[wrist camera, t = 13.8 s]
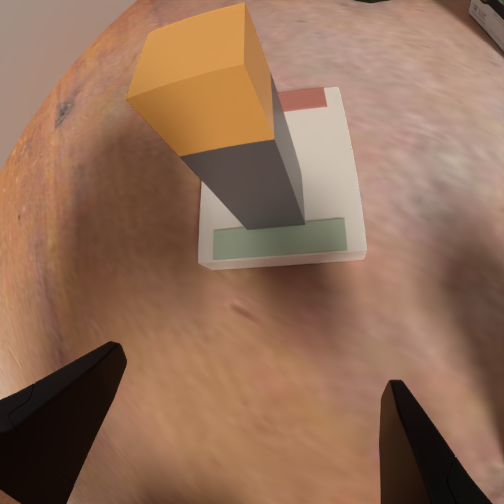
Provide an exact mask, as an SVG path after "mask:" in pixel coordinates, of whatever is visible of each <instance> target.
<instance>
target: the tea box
mask: <svg viewBox="0 0 504 504" xmlns="http://www.w3.org/2000/svg"><path fill="white" fill-rule="evenodd" d="M469 14H470V15H471V16H472V17H473V18H474V19H475V20H476V21H477V22H478V23H479V24H480V26H481V27H482V28H483V29H484V30H485V31H486V32H487V33H488V34H489V35H490V37H491V38H492V39H493V40H494V41H495V42H496V43H497V45H498V46H499V47H500V48H501V50H502V51H503V52H504V0H471V3H470V7H469Z"/></svg>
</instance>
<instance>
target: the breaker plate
mask: <svg viewBox="0 0 504 504" xmlns="http://www.w3.org/2000/svg"><path fill="white" fill-rule="evenodd" d="M278 96H279V99H280V102H281V105H282V109H283V112H284V115H285V118H286V121H287V125H288V128H289V131H290V135H291V138H292V141H293V145H294V148H295V152H296V155H297V159H298V162H299V166H300V169H301V174H302V186H303V199H304V213H305V225H297V226H286V227H275V228H265V229H254V230H247V229H246V228H245V227H244V226H243V225H242V224H241V223H240V222H239V220H238V219H237V218H236V217H235V216H234V215H233V214H232V213H231V212H230V211H229V210H228V208H227V207H226V206H225V205H224V204H223V203H222V202H221V201H220V200H219V199H218V198H217V197H216V195H215V194H214V193H213V192H212V191H211V190H210V189H209V188H208V187H207V186H206V185H205V184H204V182H203V181H202V187H201V203H200V222H199V244H198V264H200V265H202V266H204V267H206V268H208V269H210V270H225V269H240V268H256V267H271V266H285V265H300V264H314V263H327V262H340V261H353V260H364V258H365V255H366V252H367V246H366V236H365V228H364V220H363V212H362V205H361V198H360V191H359V185H358V179H357V173H356V167H355V161H354V156H353V150H352V145H351V140H350V135H349V130H348V126H347V121H346V116H345V112H344V108H343V103H342V99H341V95H340V91H339V87H332V88H323V87H322V88H313V89H304V90H297V91H289V92H283V93H278Z"/></svg>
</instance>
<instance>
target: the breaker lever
mask: <svg viewBox="0 0 504 504" xmlns="http://www.w3.org/2000/svg"><path fill="white" fill-rule="evenodd" d="M126 100H127V101H128V102H129V103H130V105H131V106H132V107H133V108H134V109H135V110H136V111H137V112H138V113H139V114H140V115H141V116H142V117H143V118H144V119H145V120H146V121H147V123H148V124H149V125H150V126H151V127H152V128H153V129H154V130H155V131H156V132H157V133H158V134H159V135H160V136H161V137H162V139H163V140H164V141H165V142H166V143H167V144H168V145H169V146H170V147H171V148H172V149H173V150H174V151H175V152H176V153H177V155H178V156H179V157H180V158H181V159H182V160H183V161H184V162H185V163H186V164H187V165H188V166H189V167H190V168H191V170H192V171H193V172H194V173H195V174H196V175H197V176H198V177H199V178H200V179H201V180H202V181H203V182H204V184H205V185H206V186H207V187H208V188H209V189H210V190H211V191H212V192H213V193H214V194H215V195H216V197H217V198H218V199H219V200H220V201H221V202H222V203H223V204H224V205H225V206H226V207H227V208H228V210H229V211H230V212H231V213H232V214H233V215H234V216H235V217H236V218H237V219H238V220H239V222H240V223H241V224H242V225H243V226H244V227H245V228H246V229H247V230H254V229H265V228H275V227H286V226H297V225H305V213H304V199H303V186H302V174H301V169H300V166H299V162H298V159H297V155H296V152H295V148H294V145H293V141H292V138H291V135H290V131H289V128H288V125H287V121H286V118H285V115H284V112H283V109H282V105H281V102H280V99H279V96H278V93H277V90H276V87H275V84H274V81H273V78H272V75H271V72H270V69H269V66H268V63H267V60H266V58H265V55H264V52H263V49H262V46H261V44H260V41H259V38H258V35H257V33H256V30H255V27H254V25H253V22H252V19H251V17H250V14H249V12H248V9H247V6H246V4H245V3H240V4H236V5H232V6H228V7H224V8H220V9H217V10H213V11H209V12H206V13H203V14H199V15H196V16H193V17H190V18H187V19H184V20H181V21H178V22H175V23H172V24H170V25H167V26H164V27H162V28H159V29H156V30H154V31H151V32H149V34H148V37H147V39H146V42H145V44H144V47H143V50H142V52H141V55H140V57H139V60H138V63H137V66H136V69H135V71H134V74H133V77H132V80H131V83H130V86H129V89H128V92H127V96H126Z"/></svg>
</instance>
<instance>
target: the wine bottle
mask: <svg viewBox="0 0 504 504" xmlns="http://www.w3.org/2000/svg"><path fill="white" fill-rule="evenodd" d="M356 1H361V2H367V3H375V2H381V1H388V0H356Z"/></svg>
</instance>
